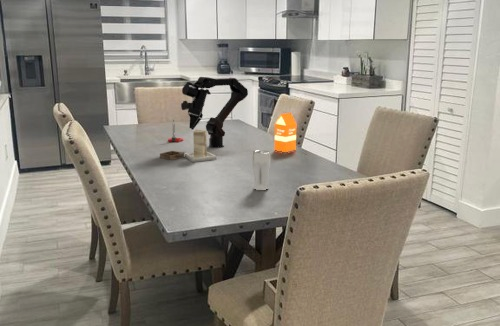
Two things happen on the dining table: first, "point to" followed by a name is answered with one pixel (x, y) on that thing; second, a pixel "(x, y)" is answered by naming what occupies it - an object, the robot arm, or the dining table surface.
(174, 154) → the walnut collar
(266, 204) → the dining table surface
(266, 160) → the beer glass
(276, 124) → the orange juice
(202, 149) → the tan wooden block
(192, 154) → the tray
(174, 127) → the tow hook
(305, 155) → the dining table surface
